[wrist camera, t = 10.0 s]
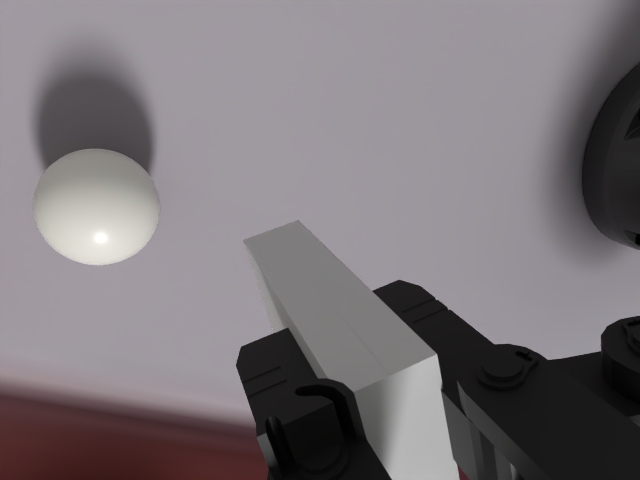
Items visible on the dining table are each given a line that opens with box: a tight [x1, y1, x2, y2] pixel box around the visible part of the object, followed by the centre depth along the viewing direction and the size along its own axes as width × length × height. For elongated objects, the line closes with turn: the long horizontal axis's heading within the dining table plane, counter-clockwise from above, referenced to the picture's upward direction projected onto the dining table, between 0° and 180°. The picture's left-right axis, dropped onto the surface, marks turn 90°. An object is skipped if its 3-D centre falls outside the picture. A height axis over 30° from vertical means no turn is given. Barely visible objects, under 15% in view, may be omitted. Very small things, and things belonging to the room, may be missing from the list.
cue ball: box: [33, 149, 160, 265], centre depth 24 cm, size 6×6×6 cm
